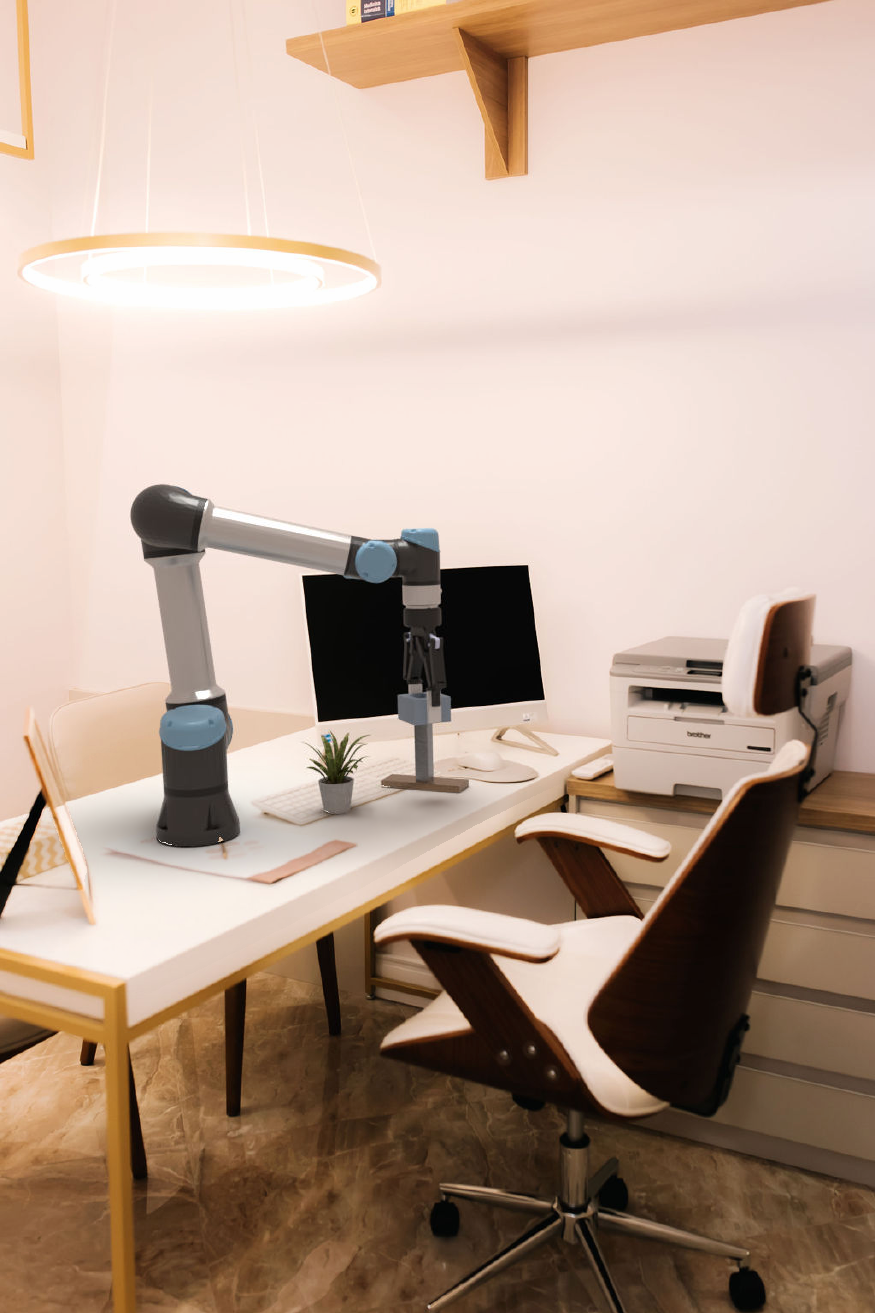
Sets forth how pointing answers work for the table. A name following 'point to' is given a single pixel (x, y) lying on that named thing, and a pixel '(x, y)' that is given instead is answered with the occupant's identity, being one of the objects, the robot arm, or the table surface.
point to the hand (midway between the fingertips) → (425, 718)
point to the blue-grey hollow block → (420, 708)
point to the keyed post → (425, 768)
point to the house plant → (336, 775)
